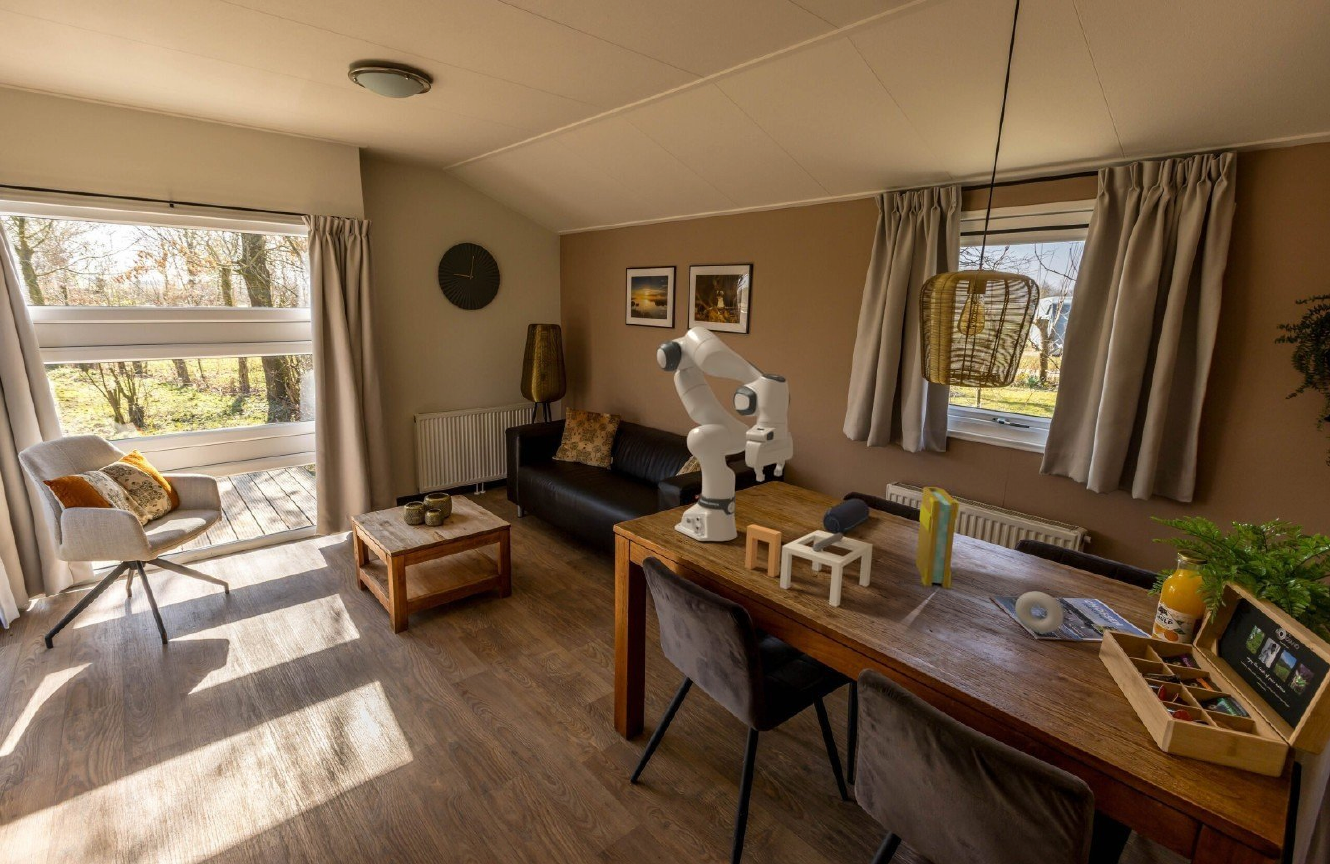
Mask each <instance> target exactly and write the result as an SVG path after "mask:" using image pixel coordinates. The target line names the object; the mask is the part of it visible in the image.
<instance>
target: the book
mask: <svg viewBox="0 0 1330 864" xmlns="http://www.w3.org/2000/svg"><path fill="white" fill-rule="evenodd" d="M921 499H922V500H921V504H920V509H919V511H920V512H919V529H918V538H917V549H916V558H915V565H916V568H917V570H918V572H919V574H920V576H921V582H922V584H923V586H924V587H925V586H927V587H932V586H933V585H932V584H933V583H935V584H940V586H941V588H943V589H944V588H945V589H950V588H951V582H952V581H951V580H952V571H951V564H952V563H951V561H952V554H953V545H954V544H953V543H954V537H955V526H956V520H958V515H959V507H960V502H959V501H958V500H957V499H956V498H953V497H952V496H951V495H950V494H949V493H948V492H947V491H946V490H945V489H943V488H941V487H936V486H934V487H933V486H925V487H923V489H922V497H921Z"/></svg>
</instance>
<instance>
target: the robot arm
mask: <svg viewBox="0 0 1330 864" xmlns="http://www.w3.org/2000/svg"><path fill="white" fill-rule="evenodd" d="M655 356H656V361H657V364H658V366H659V367H660V369H661V370H662V371H664V372H675V374H674V376H673V381H674V385H675V388H676V391H677V394H678V396H679V398H680V400H681V403H682V405H683V406H684V409H685V410H686V412H687V413H688V415H689V418H690V419H691V420H692V421H693V422H695V423H696V424H698V425H700V426H697V427H695V428H692V429H691V430H690V431H689V432H688V435H687V437H686V444H687V445H686V446H687V449H688V450H689V452H690V453H691V455H692V456H694V457H695V458H696V459H697V461H698V464H699V465H700V470H701V475H702V476H701V477H702V479H701V480H702V481H701V486H702V487H701V493H699V494H696V495H695V499H696V500H697V502H696V504H694V505H692V506H691V507H690V508H689V507H688V509H686V510H685V511H684V512H683V514H682V516H681V521H680V522H679V523H676V524H675V526H674V530H675V531H677V532H679V533H682V534H683V535H686V536H689V537H690V538H693V539H695V540H696V541H700V542H705V541H706V542H711V541H712V542H713V541H714V542H724V541H727V542H728V541H731V540H734V539H736V538H737V537H738V533H737V532H738V531H737V528H736V520H735V510H736V495H735V487H736V486H735V485H736V474H735V472H734V470H733V469H732V468H730V467H729V466H728V465H727V461H726V456H729V455H736V454H739V453H742V452H743V451H745V464H746V466H747V467H750V468H753V470H754V472H755V475H756V481H757V482H763V481H765V474H764V473H763V470H764V467H766V466H769V465H772V464H776V467H775V469H774V470H773V475H774V476H776V477H780V476H782V475H783V469H784V467H785V463H786V461H789V460H791V459H792V458H793V455H794V442H793V441H794V440H793V437H792V433H791V431H790V429H789V428H788V424H789V423H788V422H789V421H788V415H787V414H788V413H787V412H788V409H789V407H790V405H791V394H790V392H789V391H790V390H789V384H788V380H787V378H785V377H784V376H782V375H780V374H773V373H764V372H763V371H762V370H760V369H759V368H758V367H757V366H755V365H754V364H753V363H751V361H749V360H747V359H746V358H744V357H743V356H742V355H740V354H738V353H737V352H735V351H733V350H732V349H731V347H729V346H728V345H726V344H725V342H723V341H722V340H721V339H720V337H718V336H717V335H715V333H713V332H712V331H710V330H709V329H707V328H705V327H704V326H694V327H692V328H690V329H689V330H688V331H686V333H685V335H684V336H682V337H678V338H674V339H673V340H667V341H664V342H662V343H660V344H659V345H658V347H657V349H656V355H655ZM703 372H704V373H705V374H706V375H708V376H710V377H716V378H717V377H718V378H726V379H731V380H736V381H739V382H741V383H743V385H740V386H738V387H737V388H736V389H735V392H734V394H733V400H732V401H733V407H734V410H735V411H736V412H737V414H739V415H740V416H742V417H743V416H744V417H756V421H755V422H756V424H754V425H753V426H752V428H750V427H749V425H747V424H746V423H743V422H742V421H740V420H738V419H736V417H734V416H733V415H731V414H730V412H729V411H727V410H726V409H725V408H724V407H723V405H722V404H721V403H720V401H719V400H718V398H717V397H716V395H715V394H714V392H713V390H712V388H711V387H710V385H709V383H708V381H707V380H706V379H705V377H704V373H703Z"/></svg>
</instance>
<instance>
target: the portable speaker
mask: <svg viewBox="0 0 1330 864" xmlns="http://www.w3.org/2000/svg"><path fill="white" fill-rule="evenodd" d="M870 513H871V512H870V508H869V505H868V504H867V503H866V502H865V501H864V500H862V499H860V498H851V499H850V498H849V499H847V500H844V501H842V502H840V503H839V504H836V505H835V506H832V507H831V508H830V509H828V510H827V511H826V512H825V513H824V515H823V519H822V524H823V527H824V528H825V530H826V532H828V533H831V534H837V533H842V535H843V536H844V535H846V534H847V533H849V532H851V531H852V530H854V529H855V528H857V527H858V526H860V525H861V524H863V523H865V522H866V521H867V520H869V519H868V518H869V516H870Z"/></svg>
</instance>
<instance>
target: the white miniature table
mask: <svg viewBox="0 0 1330 864" xmlns="http://www.w3.org/2000/svg"><path fill="white" fill-rule="evenodd" d="M812 541H813V545H812V546H811V547H810V546H807V545H806V544H809V543H810V542H812ZM829 546H835V547H838V548H842V549H846V550H848V551H851V552H849V553H847V554H845V555H843V556H842V555H839V554H835V553H832V552H828V551H824V549H825V548H827V547H829ZM873 546H874V545H873V543H868V542H865V541H861V540H857V539H853V538H849V537H845V536H844V534H843V535H842V533H837V534H835V533H831V532H829V531H823V530H820V529H817V530H815V531H812V532H810V533H808V534H806V535H804V536H802V537H799V538H798V539H795V540H793V541H790V542H788V543H786V544H784V545H781V561H780V563H781V564H780V579H779V581H780V582H779V588H782V589H784V590H787V589H789V588H791V578H792V577H791V576H792V561H793V560H792V559H793V556H796V557H800V558H802V559H806V560H810V561H811V562H812V566H811V569H812V570H813V571H815V572H819V571H821V570H822V566H823V565H826V566H829V567H831V574H830V575H831V578H830V590H829V591H830V592H829V602H828V603H829V604H828V605H830V606H833V607H834V608H835V607H838V606H840V605H841V593H842V581H843V569H844V567H845V566H846V565H849V564H850V563H852V562H853V561H854V560H857V559H858V558H860V557H861V558H860V559H861V561H860V574H859V585H860V586H862V587H868V586H869V585H870V579H871V578H870V577H871V570H872V569H871V567H872V555H873Z"/></svg>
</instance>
